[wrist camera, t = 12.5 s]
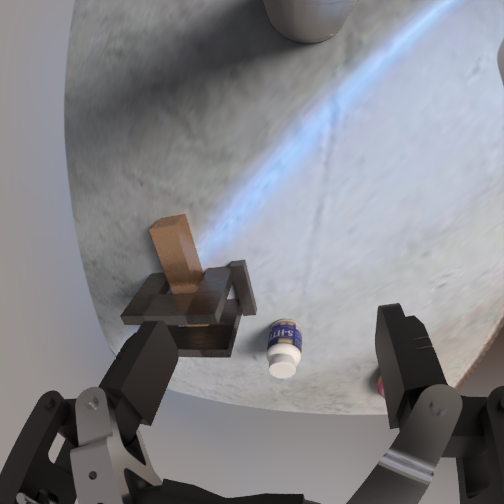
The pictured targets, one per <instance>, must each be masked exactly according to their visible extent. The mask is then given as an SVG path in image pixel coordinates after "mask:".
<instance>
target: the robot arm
mask: <svg viewBox="0 0 504 504" xmlns="http://www.w3.org/2000/svg"><path fill="white" fill-rule="evenodd" d="M357 1H358V0H263V2H264V5H265V8H266V12H267V15H268V18H269V20H270V22H271V24H272V26H273V27H274V28H275V29H276V30H277V31H278V32H279V33H281V34H282V35H283V36H285V37H287V38H289V39H291V40H294V41H297V42H303V43H317V42H322V41H325V40H327V39H330V38H331V37H333V36H334V35H336V33H337V32H338V31H339V30H340V29H341V27H342V25H343V24H344V22H345V21H346V19H347V18H348V16H349V14H350V13H351V11H352V9H353V8H354V6H355V4H356V3H357ZM375 349H376V355H377V360H378V364H379V369H380V374H381V379H382V384H383V389H384V395H385V400H386V406H387V412H388V418H389V425H390V429H393V428H399V430H400V432H399V434H398V436H397V437H396V439H395V440H394V442H393V444H392V445H391V447H390V448H389V450H388V451H387V452H386V454H385V455H384V456H383V457H382V458H381V460H380V461H379V462H378V464H377V465H376V467H375V468H374V469H373V471H372V472H371V473H370V475H369V476H368V478H367V479H366V480H365V481H364V483H363V484H362V485H361V486H360V488H359V489H358V490H357V491H356V493H355V494H354V495H353V496H352V497H351V499H350V500H349V501H348V502H347V503H346V504H418V503H419V501H420V500H421V498H422V496H423V495H424V493H425V491H426V490H427V488H428V486H429V485H430V483H431V481H432V478H433V475H434V474H433V472H434V470H435V467H436V465H437V464H438V462H439V460H440V458H441V457H456V463H457V471H458V481H459V493H460V504H504V386H500V387H498V388H496V389H494V390H493V391H492V392H491V394H490V395H489V396H488V397H466V396H462V395H460V394H459V393H458V391H457V390H455V389H454V388H453V387H451V386H449V385H448V384H447V382H446V380H445V377H444V374H443V371H442V368H441V366H440V363H439V360H438V358H437V355H436V353H435V350H434V348H433V347H432V343H431V340H430V338H429V336H428V333H427V331H426V328H425V326H424V324H423V323H422V322H421V321H420V320H418V319H417V318H416V317H415V316H408V317H405V315H404V312H403V310H402V307H401V305H400V304H399V303H396V304H389V305H382V306H379V307H378V312H377V324H376V334H375ZM178 357H179V354H178V348H177V346H176V344H175V342H174V340H173V338H172V336H171V334H170V332H169V330H168V328H167V325H166V324H165V322H164V321H161V320H158V321H144V322H143V323H142V325H141V326H140V328H139V330H138V331H137V333H134V334H133V335H132V336H131V337H130V338H129V339H128V340H126V342H125V343H124V345H123V347H122V348H121V350H120V352H119V353H118V355H117V356H116V360H114V361H113V363H112V365H111V366H110V368H109V370H108V371H107V373H106V375H105V376H104V378H103V380H102V381H101V383H100V385H99V387H91V388H88V389H86V390H84V391H83V392H82V393H81V394H80V395H79V396H78V398H77V399H64V398H63V397H62V396H61V395H60V393H59V392H57V391H49V392H47V393H45V394H43V395H42V396H41V398H40V399H39V400H38V402H37V404H36V406H35V407H34V409H33V411H32V413H31V414H30V416H29V418H28V420H27V422H26V423H25V425H24V427H23V429H22V431H21V433H20V435H19V437H18V438H17V440H16V442H15V445H14V446H13V448H12V450H11V452H10V454H9V456H8V459H7V461H6V463H5V465H4V467H3V469H2V472H1V474H0V504H74V503H75V500H76V498H77V499H78V503H79V504H320V503H317V502H313V501H309V500H305V499H304V495H303V494H267V493H265V494H259V495H252V496H244V497H235V498H225V497H222V496H219V495H217V494H214V493H212V492H209V491H207V490H204V489H202V488H200V487H197V486H195V485H191V484H186V483H181V482H177V481H172V480H168V479H163V482H162V481H161V479H160V478H159V476H158V475H157V474H156V473H155V471H154V469H153V467H152V465H151V462H150V459H149V457H148V454H147V451H146V448H145V445H144V442H143V439H142V436H141V433H140V431H139V430H138V427H139V425H140V424H144V425H149V426H151V424H152V422H153V420H154V417H155V415H156V412H157V410H158V407H159V405H160V403H161V400H162V398H163V395H164V393H165V391H166V388H167V386H168V383H169V381H170V379H171V376H172V374H173V372H174V369H175V367H176V364H177V362H178ZM57 433H59V434H60V435H62V436H63V437H64V438H65V441H64V444H63V446H62V448H61V450H60V452H59V455H58V457H57V459H56V461H55V463H54V464H53V463H52V462H51V461H50V460H49V457H48V452H49V450H50V447H51V445H52V443H53V441H54V439H55V437H56V435H57Z"/></svg>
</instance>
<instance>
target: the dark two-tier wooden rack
mask: <svg viewBox="0 0 504 504" xmlns="http://www.w3.org/2000/svg"><path fill="white" fill-rule="evenodd" d="M233 281H234V284H235V288H236V292H237V295H238V299H230V300H227V297H228V294H229V291H230V288H231V285H232V282H233ZM169 288H170V285H169V283H168V280H167V277H166V275H165V273H154V274H151V275H150V276H149V278H148V279H147V280H146V282H145V283H144V284H143V286H142V287H141V288H140V290H139V291H138V292H137V294H136V295H135V296H134V298H133V299H132V301H131V302H130V303H129V305H128V306H127V307H126V309H125V310H124V312H123V313H122V314H121V316H120V317H121V319H122V321H123V322H124V324H125V325H142V323H143V322H144V321H158V320H161V321H164V322H165V324H166V325H167V328H168V330H169V332H170V334H171V336H172V338H173V340H174V342H175V344H176V346H177V348H178V354H179V357H231V353H232V349H233V345H234V341H235V338H236V334H237V330H238V326H239V322H240V319H241V315H242V313H243V316H248V315H256V311H257V307H256V303H255V299H254V295H253V291H252V286H251V282H250V278H249V274H248V270H247V266H246V261H245V260H240V261H232V262H231V265H230V266H226V267H216V268H208V270H207V271H206V273H205V275H204V277H203V279H202V281H201V283H200V285H199V287H198V289H197V291H196V292H195V293H179V294H166V293H167V292H168V290H169ZM203 324H209V326H184V327H178V325H203Z"/></svg>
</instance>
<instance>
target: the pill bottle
mask: <svg viewBox="0 0 504 504" xmlns="http://www.w3.org/2000/svg"><path fill="white" fill-rule="evenodd" d="M301 345H302V329H301V327H300V325H299V324H298V323H297V322H295V321H293V320H289V319H283V320H279V321H277V322H275V323H274V324H273V325H272V326H271V329H270V335H269V342H268V348H267V360H268V361H269V372H270V374H271V375H273V376H274V377H277V378H289V377H292V376H293V375H294V374H295V372H296V365H297V364H298V363H299V361H300V359H301Z"/></svg>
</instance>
